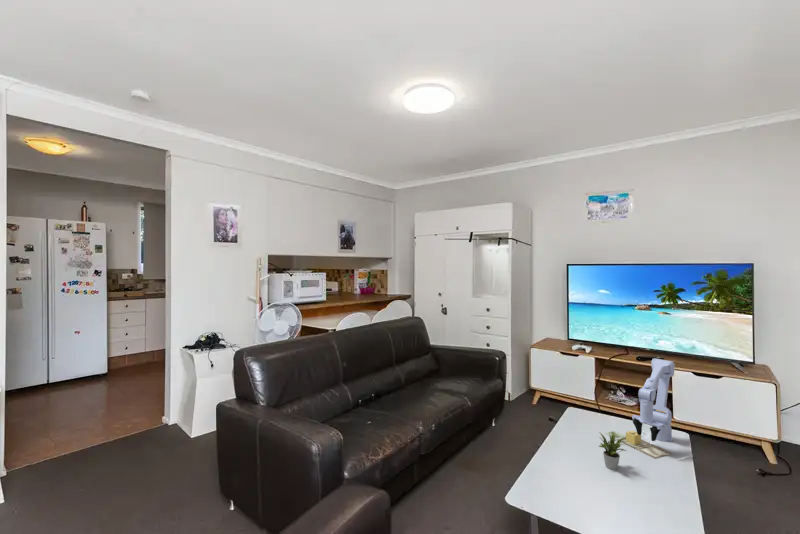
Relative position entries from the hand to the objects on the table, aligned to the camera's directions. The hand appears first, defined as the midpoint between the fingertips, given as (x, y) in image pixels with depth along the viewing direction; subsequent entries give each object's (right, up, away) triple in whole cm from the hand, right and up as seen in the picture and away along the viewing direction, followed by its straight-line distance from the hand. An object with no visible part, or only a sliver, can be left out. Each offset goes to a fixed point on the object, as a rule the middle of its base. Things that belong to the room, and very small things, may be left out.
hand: (646, 437), depth 203 cm
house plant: (-27, -7, -18) cm, 33 cm away
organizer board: (-2, -6, +6) cm, 9 cm away
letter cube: (-3, -6, +7) cm, 9 cm away
